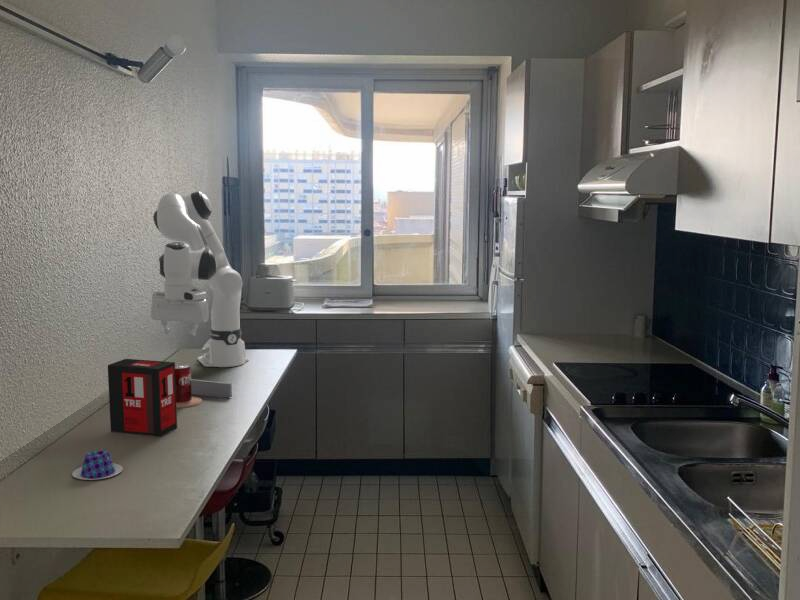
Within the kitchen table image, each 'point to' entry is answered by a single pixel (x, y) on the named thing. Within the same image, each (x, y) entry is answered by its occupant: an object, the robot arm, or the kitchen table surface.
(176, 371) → the soda can
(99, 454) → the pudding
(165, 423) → the cleaning product box
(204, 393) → the acrylic wall
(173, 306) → the robot arm
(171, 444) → the kitchen table surface
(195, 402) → the terracotta mat
